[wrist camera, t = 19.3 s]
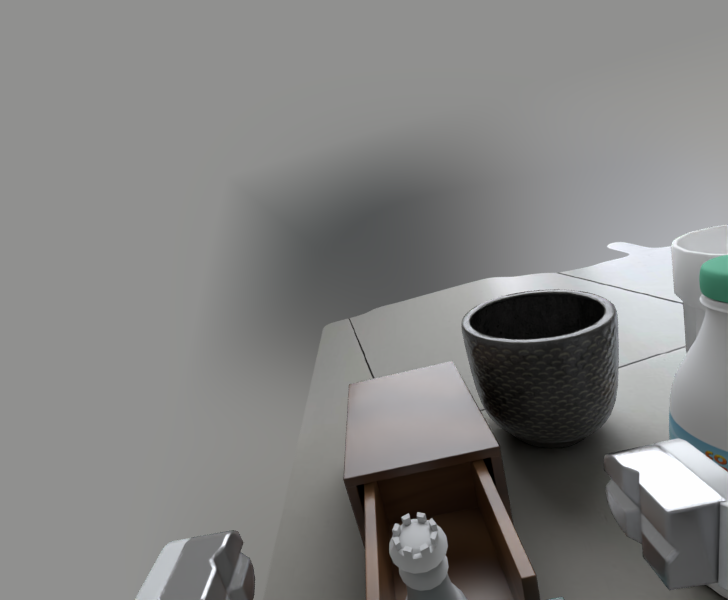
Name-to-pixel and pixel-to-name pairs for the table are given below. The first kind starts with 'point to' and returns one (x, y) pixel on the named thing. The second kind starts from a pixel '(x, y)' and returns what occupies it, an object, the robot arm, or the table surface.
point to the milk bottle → (706, 376)
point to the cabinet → (415, 431)
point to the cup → (695, 272)
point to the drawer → (449, 533)
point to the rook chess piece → (422, 559)
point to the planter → (545, 363)
